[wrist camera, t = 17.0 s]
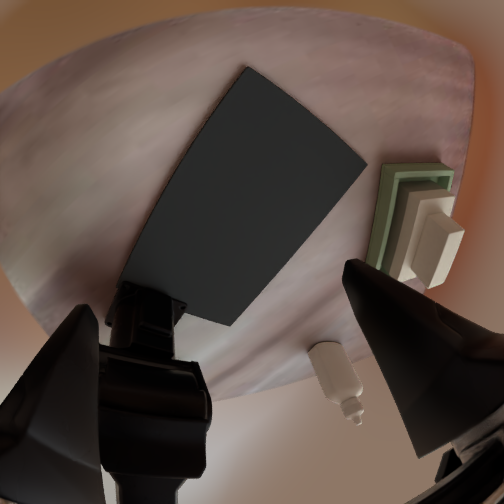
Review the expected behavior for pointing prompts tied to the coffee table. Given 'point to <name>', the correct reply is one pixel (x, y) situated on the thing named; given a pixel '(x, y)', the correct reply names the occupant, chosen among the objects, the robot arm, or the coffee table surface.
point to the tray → (387, 198)
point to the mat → (241, 201)
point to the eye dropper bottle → (338, 378)
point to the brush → (422, 234)
